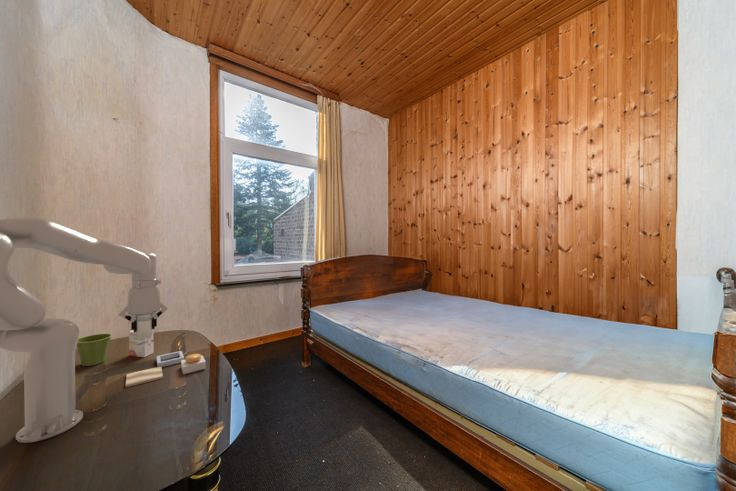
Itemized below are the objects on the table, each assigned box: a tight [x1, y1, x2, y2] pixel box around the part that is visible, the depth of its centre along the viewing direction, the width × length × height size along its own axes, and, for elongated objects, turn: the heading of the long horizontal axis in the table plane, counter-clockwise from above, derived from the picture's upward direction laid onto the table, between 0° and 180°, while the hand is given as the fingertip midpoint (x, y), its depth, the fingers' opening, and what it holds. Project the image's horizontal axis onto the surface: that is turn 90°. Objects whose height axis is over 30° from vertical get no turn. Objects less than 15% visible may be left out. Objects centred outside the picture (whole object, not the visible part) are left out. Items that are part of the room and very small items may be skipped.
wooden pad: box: [124, 366, 164, 388], centre depth 107 cm, size 11×11×1 cm
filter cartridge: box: [135, 312, 153, 339], centre depth 106 cm, size 5×5×9 cm
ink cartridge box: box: [128, 329, 155, 358], centre depth 127 cm, size 9×5×15 cm, turn 84°
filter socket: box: [156, 350, 185, 368], centre depth 121 cm, size 9×9×2 cm
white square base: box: [180, 354, 207, 375], centre depth 115 cm, size 8×8×3 cm
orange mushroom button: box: [184, 353, 202, 363], centre depth 115 cm, size 6×6×4 cm
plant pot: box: [76, 333, 113, 367], centre depth 118 cm, size 12×12×11 cm
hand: (144, 329), depth 106 cm, fingers closed on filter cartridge, 5 cm apart
